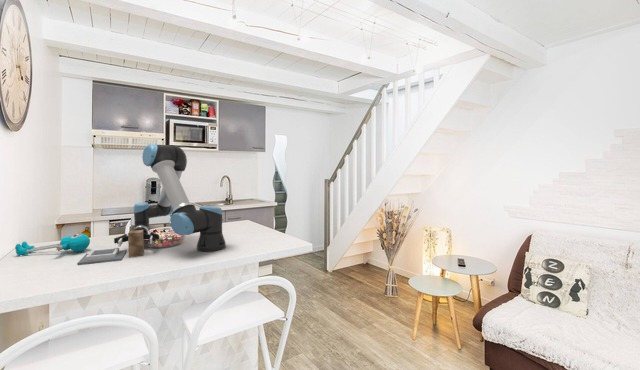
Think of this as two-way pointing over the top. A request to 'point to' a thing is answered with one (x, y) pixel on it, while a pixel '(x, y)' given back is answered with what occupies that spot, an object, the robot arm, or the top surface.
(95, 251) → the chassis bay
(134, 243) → the brown wooden block
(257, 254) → the top surface
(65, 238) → the toy
